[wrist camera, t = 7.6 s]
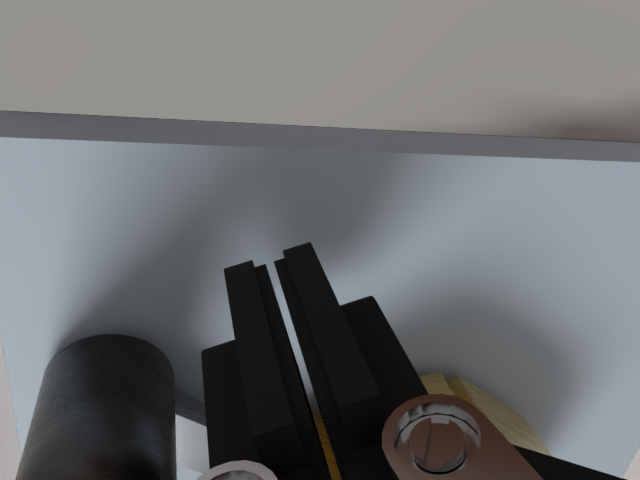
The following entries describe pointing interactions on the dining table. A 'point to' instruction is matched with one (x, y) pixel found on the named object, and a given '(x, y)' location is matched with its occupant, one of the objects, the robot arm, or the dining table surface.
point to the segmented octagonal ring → (160, 416)
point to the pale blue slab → (335, 254)
